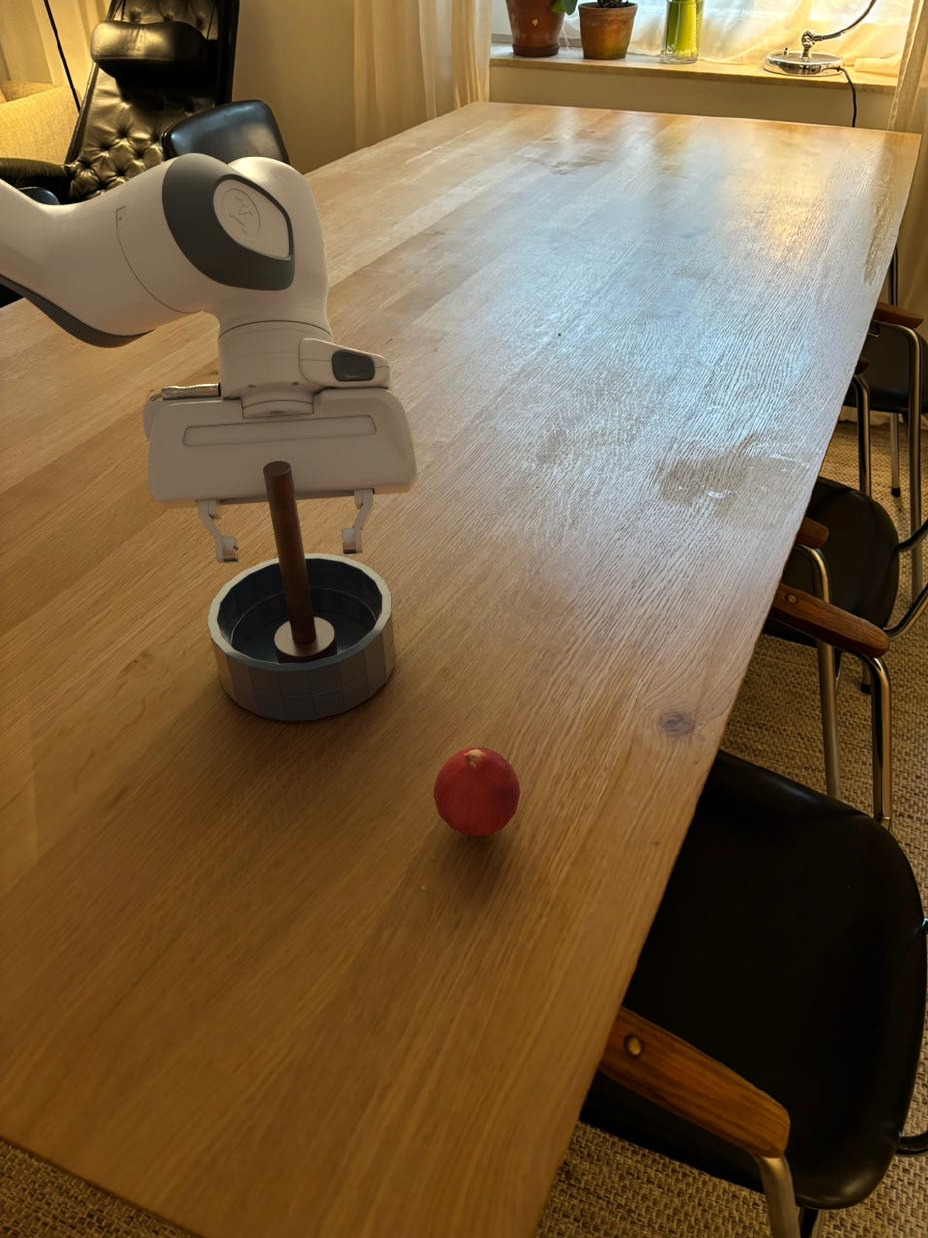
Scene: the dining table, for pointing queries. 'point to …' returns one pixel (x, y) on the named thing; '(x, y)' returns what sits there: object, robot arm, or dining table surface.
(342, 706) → the bowl
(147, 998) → the dining table surface
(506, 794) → the onion
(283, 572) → the upright rod on disc
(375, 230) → the dining table surface
